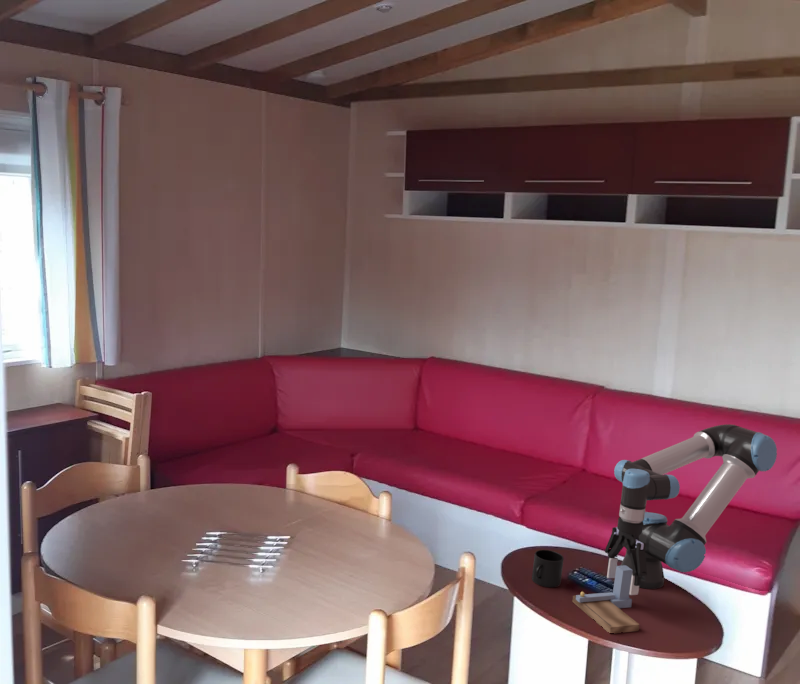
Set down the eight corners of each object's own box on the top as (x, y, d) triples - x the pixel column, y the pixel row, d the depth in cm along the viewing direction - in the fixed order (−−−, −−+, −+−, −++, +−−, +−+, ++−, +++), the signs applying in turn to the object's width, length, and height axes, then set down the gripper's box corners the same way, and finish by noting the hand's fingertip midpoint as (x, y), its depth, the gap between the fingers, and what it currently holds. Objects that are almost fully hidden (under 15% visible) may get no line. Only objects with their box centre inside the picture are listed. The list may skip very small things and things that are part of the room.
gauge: (621, 599, 247) (626, 564, 245) (631, 607, 242) (636, 570, 241) (572, 604, 241) (576, 567, 239) (581, 611, 236) (585, 574, 234)
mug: (522, 582, 253) (525, 556, 252) (541, 572, 262) (544, 547, 261) (547, 592, 247) (550, 566, 246) (565, 582, 256) (568, 556, 255)
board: (599, 599, 246) (600, 593, 246) (638, 630, 227) (639, 624, 227) (572, 601, 242) (573, 595, 242) (609, 633, 224) (610, 627, 223)
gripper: (599, 506, 250) (590, 570, 253) (644, 534, 228) (635, 604, 231) (618, 505, 252) (610, 569, 255) (665, 532, 230) (655, 602, 233)
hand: (622, 585), depth 243 cm, fingers open, 11 cm apart
